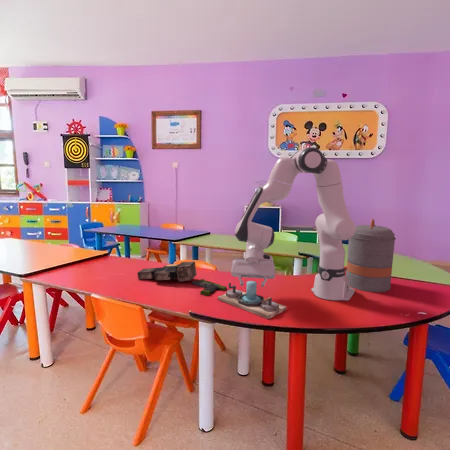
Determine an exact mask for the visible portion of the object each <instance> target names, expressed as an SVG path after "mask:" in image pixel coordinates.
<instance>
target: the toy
mask: <svg viewBox="0 0 450 450" xmlns="http://www.w3.org/2000/svg"><path fill="white" fill-rule="evenodd" d="M196 276H197V268H196V261H194V260H193V261H183V262H180V263H179V264H178V263H175V264H167V265H164V266H161V267H148V268H142V269H141V270H139V271H138V272H137V278H138V280H149V279H154V281H165V280H166V281H167V280H176V279H177V282H179V283H180V282H183V283H184V282H185V281H186V282H187V281H192V280H193V279H194V278H195V277H196Z"/></svg>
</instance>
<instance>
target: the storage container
mask: <svg viewBox="0 0 450 450" xmlns="http://www.w3.org/2000/svg"><path fill="white" fill-rule="evenodd" d="M355 226H356V231H355V234H354V236H353V237H352V238H350V239H348V245H347V260H346V266H347V270H345V275H346V276H347V277H348V278H349V279H350V288H352V289H354V290H355V289H356V290H358V291H362V292H369V293H370V292H371V293H384V292H387V291H390V290H391V283H392V272H393V271H392V270H393V264H394V263H393V260H394V252H395V244H396V243H395V241H396V239H397V238H396V237H395V236H396V235H395V233H394V232H393V230H392V229H391V228H389V227H386V226H383V225H382V226H381V225H376V224H375V219H374V218H372V219H371V221H370V224H361V225H360V224H359V225H355Z"/></svg>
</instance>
